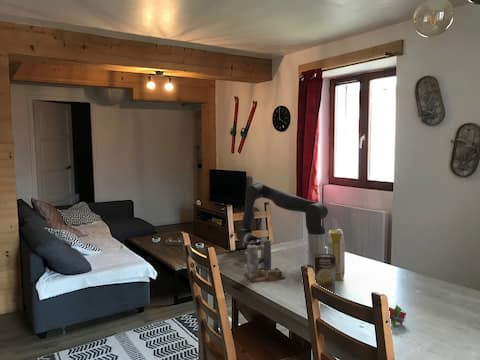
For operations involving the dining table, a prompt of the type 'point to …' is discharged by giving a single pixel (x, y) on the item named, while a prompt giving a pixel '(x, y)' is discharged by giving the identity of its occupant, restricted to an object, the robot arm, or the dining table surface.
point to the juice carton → (337, 251)
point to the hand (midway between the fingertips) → (259, 247)
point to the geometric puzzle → (396, 315)
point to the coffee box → (325, 270)
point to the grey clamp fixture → (265, 255)
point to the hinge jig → (253, 267)
